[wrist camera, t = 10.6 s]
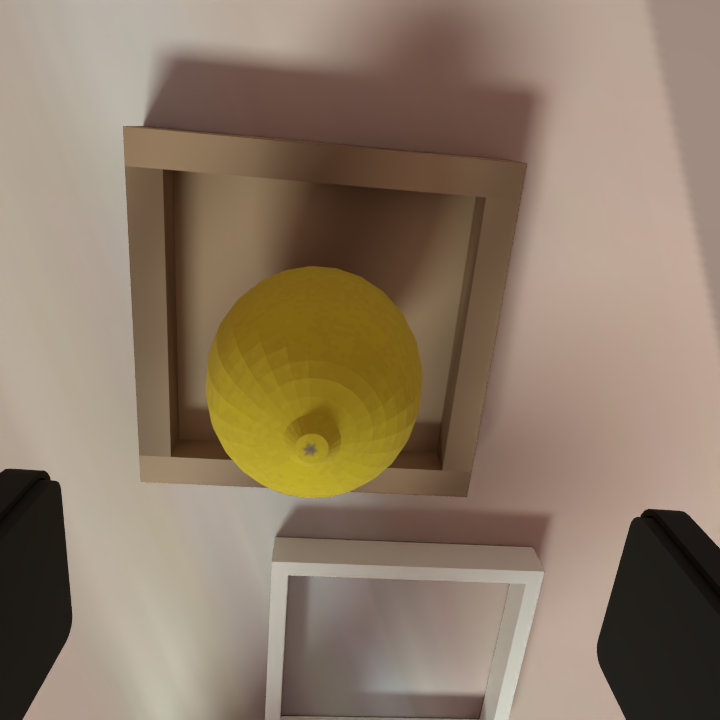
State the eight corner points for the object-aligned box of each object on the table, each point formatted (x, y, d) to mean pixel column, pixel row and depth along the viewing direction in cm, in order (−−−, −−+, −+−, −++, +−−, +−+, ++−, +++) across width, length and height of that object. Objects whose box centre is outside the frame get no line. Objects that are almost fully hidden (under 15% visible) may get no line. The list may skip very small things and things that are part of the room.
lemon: (290, 207, 18) (264, 260, 11) (436, 305, 19) (504, 414, 12) (200, 351, 20) (121, 486, 12) (341, 434, 21) (349, 601, 13)
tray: (508, 160, 19) (526, 163, 17) (456, 469, 23) (467, 497, 21) (142, 126, 18) (122, 126, 16) (155, 454, 22) (140, 481, 20)
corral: (532, 547, 24) (544, 571, 23) (490, 728, 28) (498, 758, 26) (274, 537, 23) (272, 561, 22) (266, 725, 27) (263, 756, 26)
